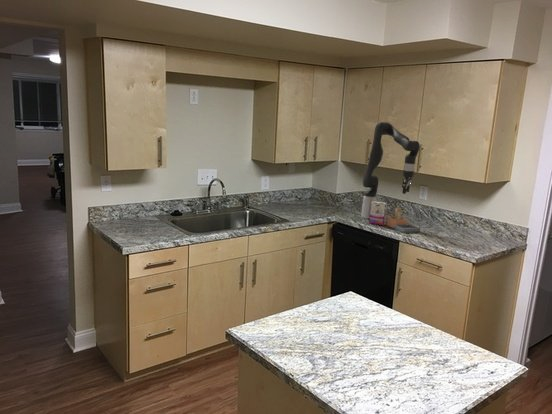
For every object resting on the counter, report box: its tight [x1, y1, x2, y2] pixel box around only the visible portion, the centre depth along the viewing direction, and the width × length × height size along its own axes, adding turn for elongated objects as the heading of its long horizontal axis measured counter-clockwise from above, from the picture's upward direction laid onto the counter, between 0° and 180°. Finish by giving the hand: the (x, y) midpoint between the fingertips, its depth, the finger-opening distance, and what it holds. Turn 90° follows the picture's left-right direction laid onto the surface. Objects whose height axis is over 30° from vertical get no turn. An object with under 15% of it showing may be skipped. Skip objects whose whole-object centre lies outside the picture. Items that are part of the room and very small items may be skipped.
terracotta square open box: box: [386, 215, 408, 229], centre depth 332 cm, size 10×10×6 cm
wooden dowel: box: [394, 207, 402, 220], centre depth 332 cm, size 4×4×14 cm
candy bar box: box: [368, 200, 388, 226], centre depth 336 cm, size 11×5×16 cm, turn 62°
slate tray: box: [392, 223, 420, 234], centre depth 323 cm, size 11×14×3 cm
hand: (405, 192), depth 319 cm, fingers open, 8 cm apart
